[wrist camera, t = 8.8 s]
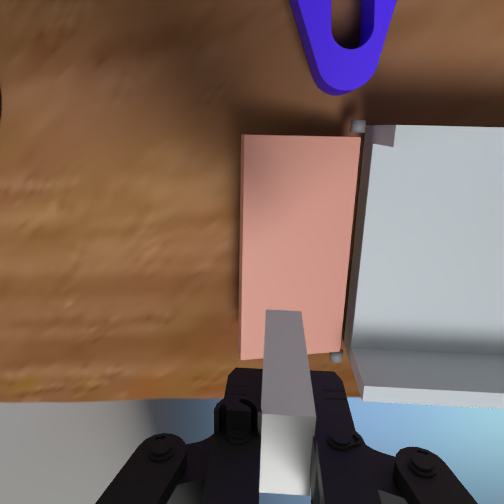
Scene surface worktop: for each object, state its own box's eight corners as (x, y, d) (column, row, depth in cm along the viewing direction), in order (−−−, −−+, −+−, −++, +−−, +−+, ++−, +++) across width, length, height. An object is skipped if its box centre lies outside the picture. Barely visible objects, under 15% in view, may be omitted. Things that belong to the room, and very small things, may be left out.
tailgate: (237, 348, 32) (240, 360, 31) (240, 134, 28) (244, 134, 26) (331, 340, 34) (339, 351, 32) (350, 136, 29) (361, 137, 28)
